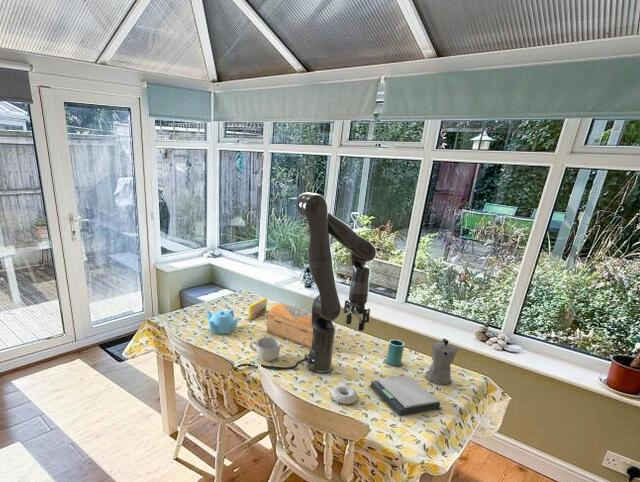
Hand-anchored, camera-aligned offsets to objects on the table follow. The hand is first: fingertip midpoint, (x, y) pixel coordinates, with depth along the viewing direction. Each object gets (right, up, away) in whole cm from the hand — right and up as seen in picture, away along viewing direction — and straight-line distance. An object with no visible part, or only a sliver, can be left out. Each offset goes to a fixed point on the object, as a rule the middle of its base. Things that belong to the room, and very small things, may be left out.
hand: (354, 327), depth 176 cm
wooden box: (-20, -5, +34) cm, 40 cm away
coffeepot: (+35, -21, -2) cm, 41 cm away
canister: (+20, -16, +9) cm, 27 cm away
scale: (+15, -27, -16) cm, 35 cm away
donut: (-8, -27, -17) cm, 33 cm away
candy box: (-41, +5, +58) cm, 71 cm away
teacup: (-38, -14, +12) cm, 43 cm away
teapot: (-60, -3, +39) cm, 72 cm away
